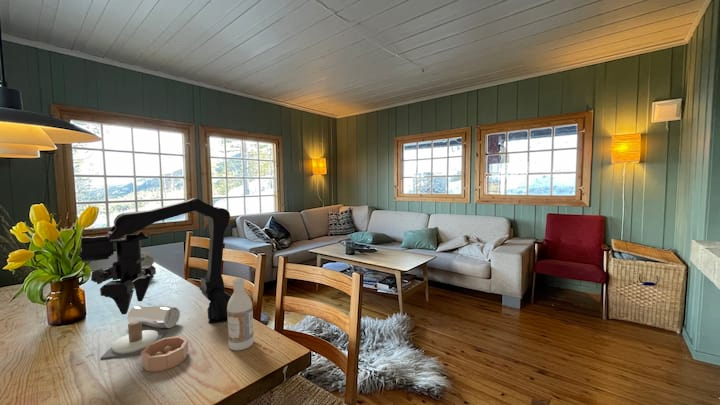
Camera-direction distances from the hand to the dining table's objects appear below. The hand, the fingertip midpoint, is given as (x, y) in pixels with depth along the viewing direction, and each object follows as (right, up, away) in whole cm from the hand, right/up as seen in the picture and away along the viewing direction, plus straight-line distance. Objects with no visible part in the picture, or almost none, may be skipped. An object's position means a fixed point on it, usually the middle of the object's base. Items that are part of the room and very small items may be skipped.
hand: (132, 307), depth 88 cm
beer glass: (-10, -8, +14) cm, 19 cm away
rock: (-43, -8, +59) cm, 73 cm away
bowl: (+14, -12, -7) cm, 20 cm away
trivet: (0, -12, +1) cm, 12 cm away
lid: (0, -11, +1) cm, 11 cm away
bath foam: (+32, -12, 0) cm, 34 cm away
